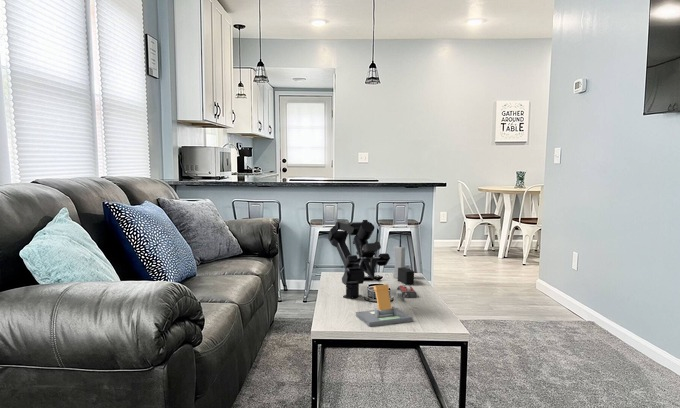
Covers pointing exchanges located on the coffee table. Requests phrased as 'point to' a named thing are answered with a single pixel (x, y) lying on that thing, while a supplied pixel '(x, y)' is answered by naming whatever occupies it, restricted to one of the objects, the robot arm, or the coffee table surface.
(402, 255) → the vintage mobile phone
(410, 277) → the digital camera
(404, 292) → the walkie-talkie
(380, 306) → the breaker lever
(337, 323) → the coffee table surface
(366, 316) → the box
